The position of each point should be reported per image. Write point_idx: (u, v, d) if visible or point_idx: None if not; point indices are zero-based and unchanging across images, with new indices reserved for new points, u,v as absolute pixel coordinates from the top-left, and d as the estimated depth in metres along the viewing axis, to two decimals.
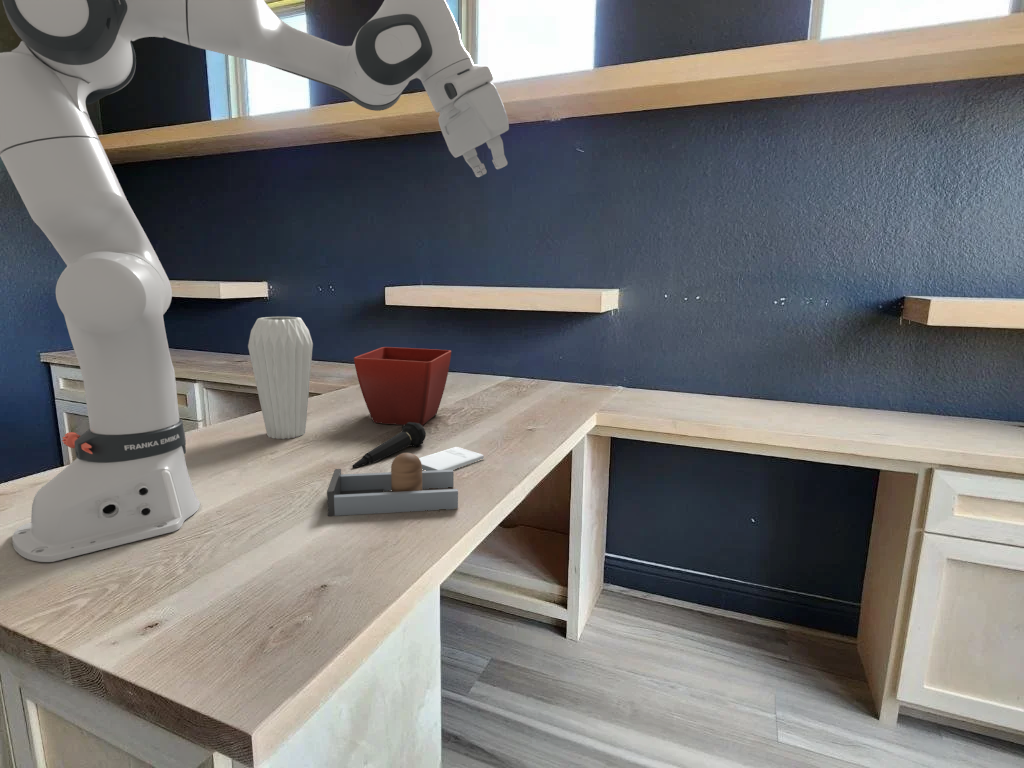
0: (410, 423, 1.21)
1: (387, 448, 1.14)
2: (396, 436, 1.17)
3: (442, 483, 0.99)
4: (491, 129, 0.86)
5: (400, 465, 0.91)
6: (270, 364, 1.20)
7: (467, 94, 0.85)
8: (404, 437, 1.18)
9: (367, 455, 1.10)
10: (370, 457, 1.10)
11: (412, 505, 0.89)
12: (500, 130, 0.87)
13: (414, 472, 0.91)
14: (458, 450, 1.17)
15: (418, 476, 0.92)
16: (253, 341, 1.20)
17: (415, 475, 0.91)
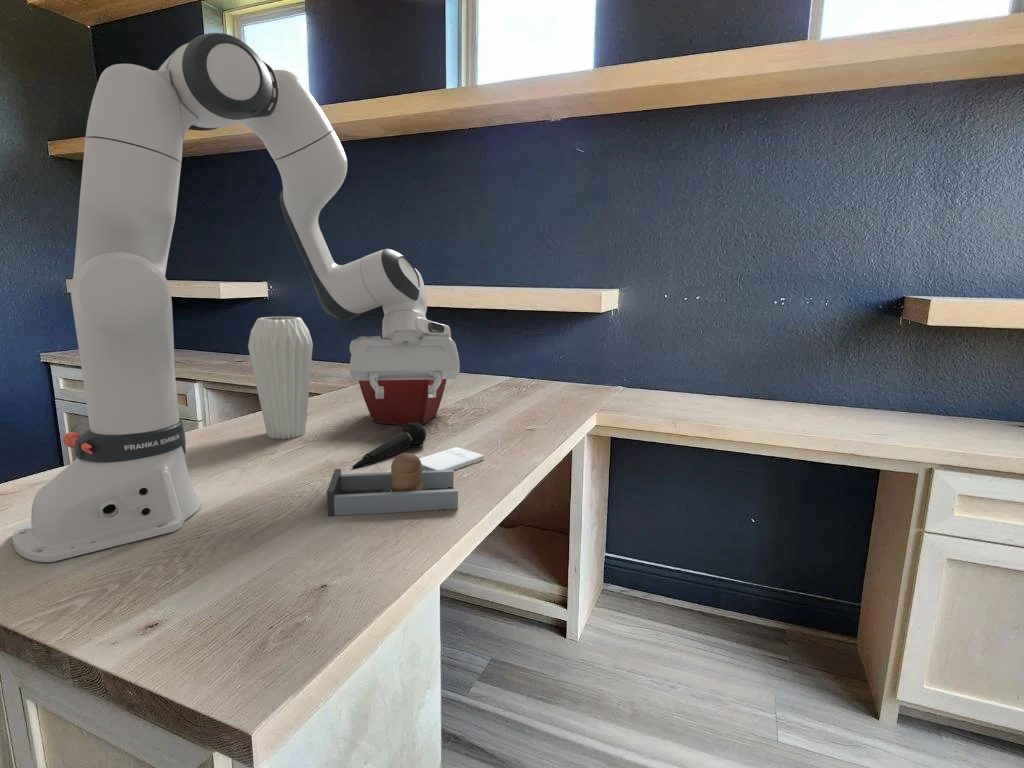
0: (410, 423, 1.21)
1: (388, 449, 1.14)
2: (396, 436, 1.17)
3: (442, 483, 0.99)
4: (459, 365, 1.07)
5: (400, 465, 0.91)
6: (270, 364, 1.20)
7: (449, 338, 1.09)
8: (404, 438, 1.17)
9: (367, 455, 1.10)
10: (370, 457, 1.10)
11: (412, 505, 0.89)
12: (458, 372, 1.07)
13: (414, 472, 0.91)
14: (459, 450, 1.16)
15: (418, 476, 0.92)
16: (253, 341, 1.20)
17: (415, 475, 0.91)
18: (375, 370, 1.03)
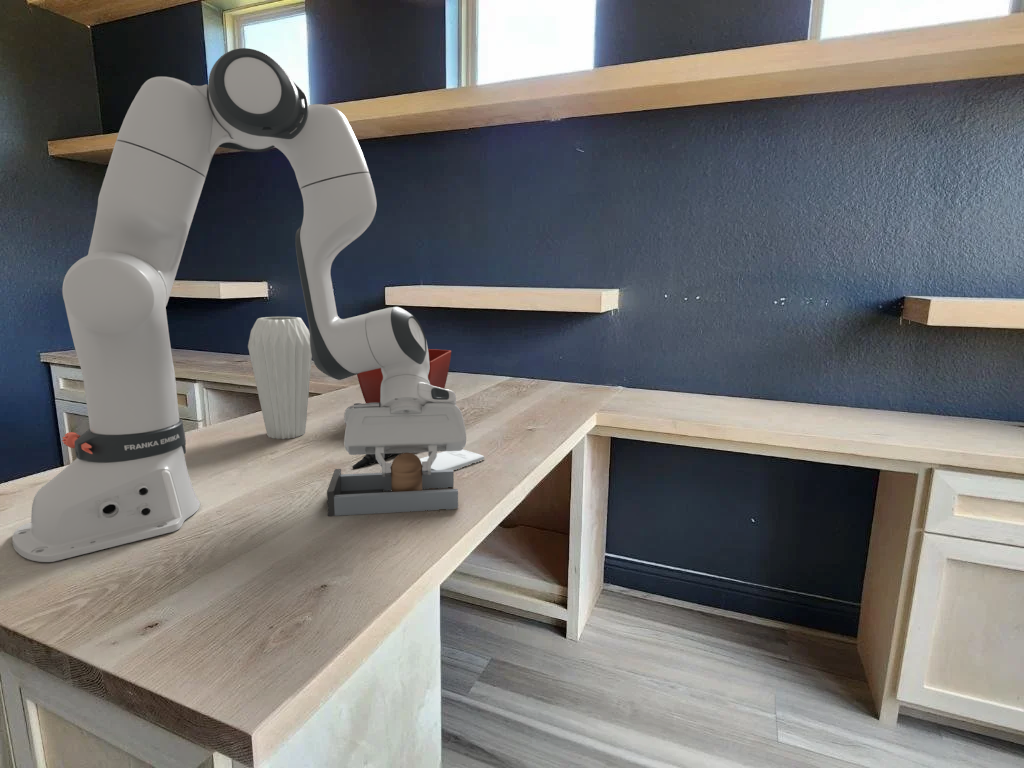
0: None
1: None
2: None
3: (442, 483, 0.99)
4: None
5: (400, 465, 0.91)
6: (270, 364, 1.20)
7: (455, 405, 0.99)
8: None
9: (368, 456, 1.10)
10: (371, 458, 1.10)
11: (412, 505, 0.89)
12: (464, 444, 0.97)
13: (414, 472, 0.91)
14: (459, 451, 1.16)
15: (418, 476, 0.92)
16: (253, 341, 1.20)
17: (415, 475, 0.91)
18: (372, 444, 0.93)
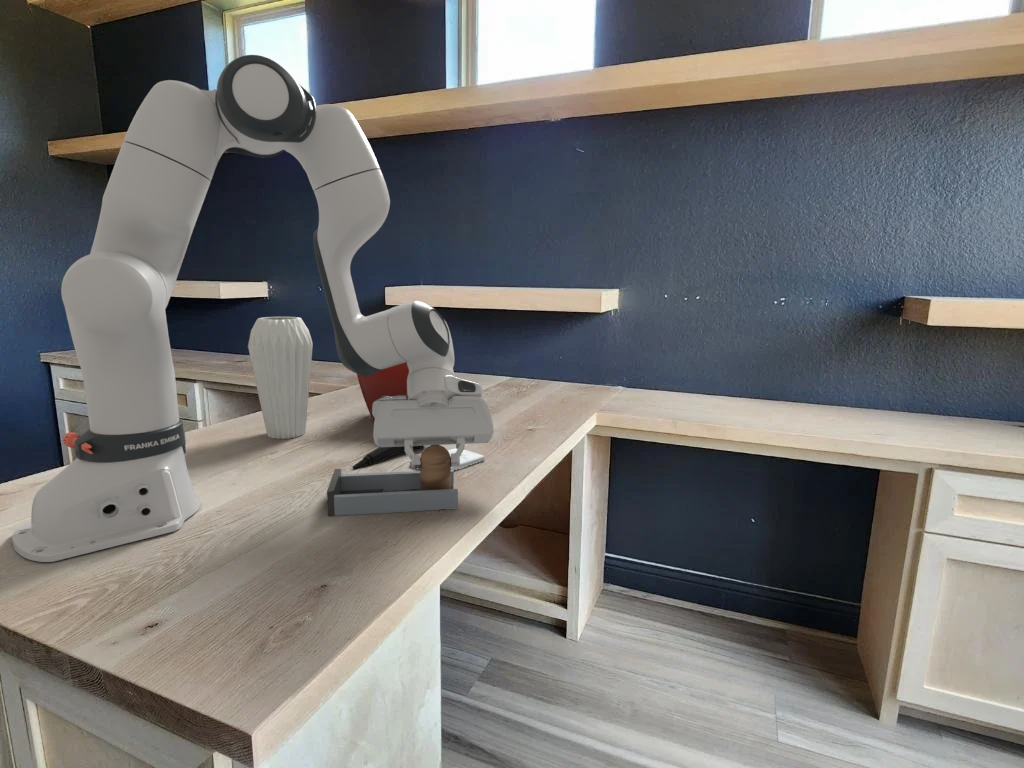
0: None
1: (389, 449, 1.13)
2: None
3: None
4: None
5: (429, 457, 0.91)
6: (270, 364, 1.20)
7: (481, 398, 0.99)
8: None
9: (368, 456, 1.10)
10: (371, 458, 1.10)
11: (412, 505, 0.89)
12: (491, 436, 0.98)
13: (443, 464, 0.92)
14: None
15: (447, 468, 0.93)
16: (253, 341, 1.20)
17: (445, 467, 0.92)
18: (401, 437, 0.93)
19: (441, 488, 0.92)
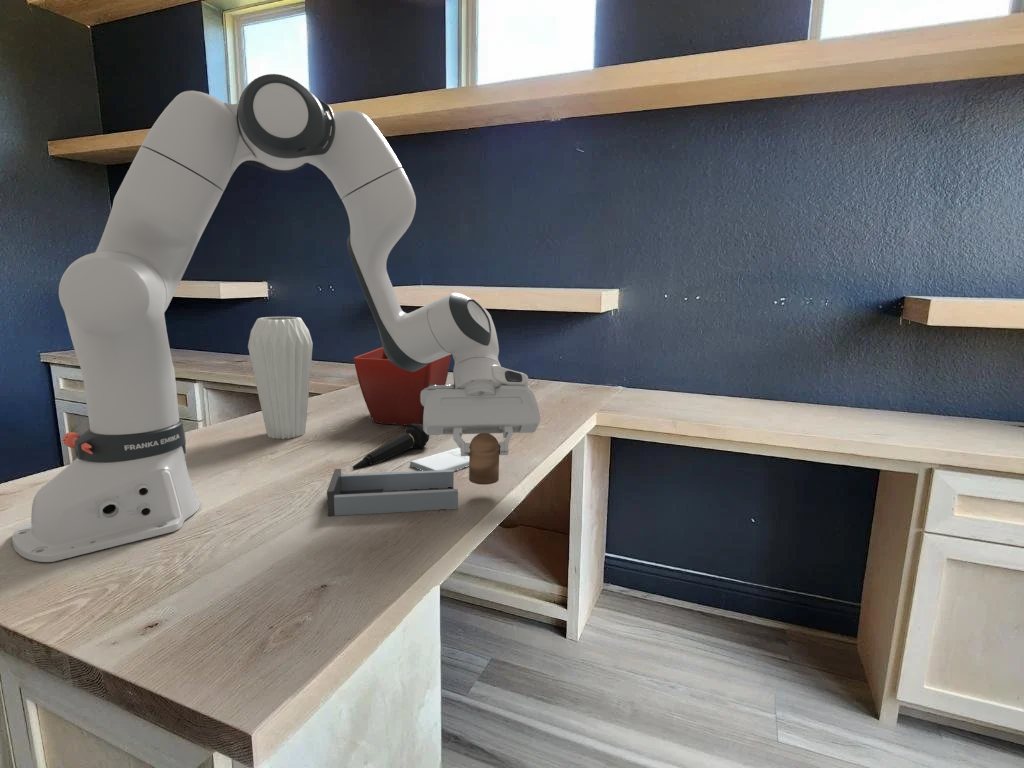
0: (413, 424, 1.20)
1: (389, 449, 1.13)
2: (399, 437, 1.16)
3: (442, 483, 0.99)
4: None
5: (479, 445, 0.92)
6: (270, 364, 1.20)
7: (527, 388, 1.00)
8: (406, 439, 1.17)
9: (368, 456, 1.10)
10: (371, 458, 1.10)
11: (412, 505, 0.89)
12: None
13: (493, 452, 0.93)
14: (460, 451, 1.16)
15: (496, 456, 0.94)
16: (253, 341, 1.20)
17: (494, 455, 0.93)
18: (451, 425, 0.94)
19: (490, 476, 0.93)
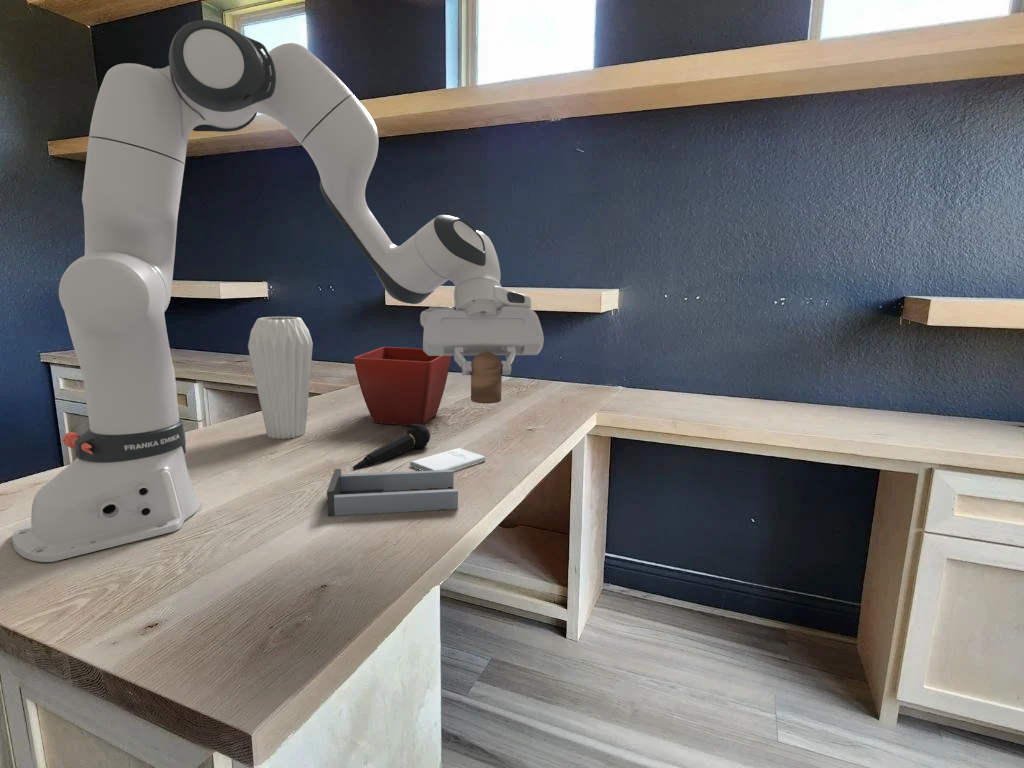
0: (414, 425, 1.20)
1: (389, 450, 1.13)
2: (399, 438, 1.16)
3: (442, 483, 0.99)
4: (543, 338, 0.95)
5: (481, 362, 0.90)
6: (270, 364, 1.20)
7: None
8: (407, 439, 1.17)
9: (368, 457, 1.10)
10: (371, 459, 1.10)
11: (412, 505, 0.89)
12: (541, 347, 0.96)
13: (495, 369, 0.90)
14: (460, 451, 1.16)
15: (499, 374, 0.91)
16: (253, 341, 1.20)
17: (497, 373, 0.90)
18: (452, 343, 0.92)
19: (493, 394, 0.91)
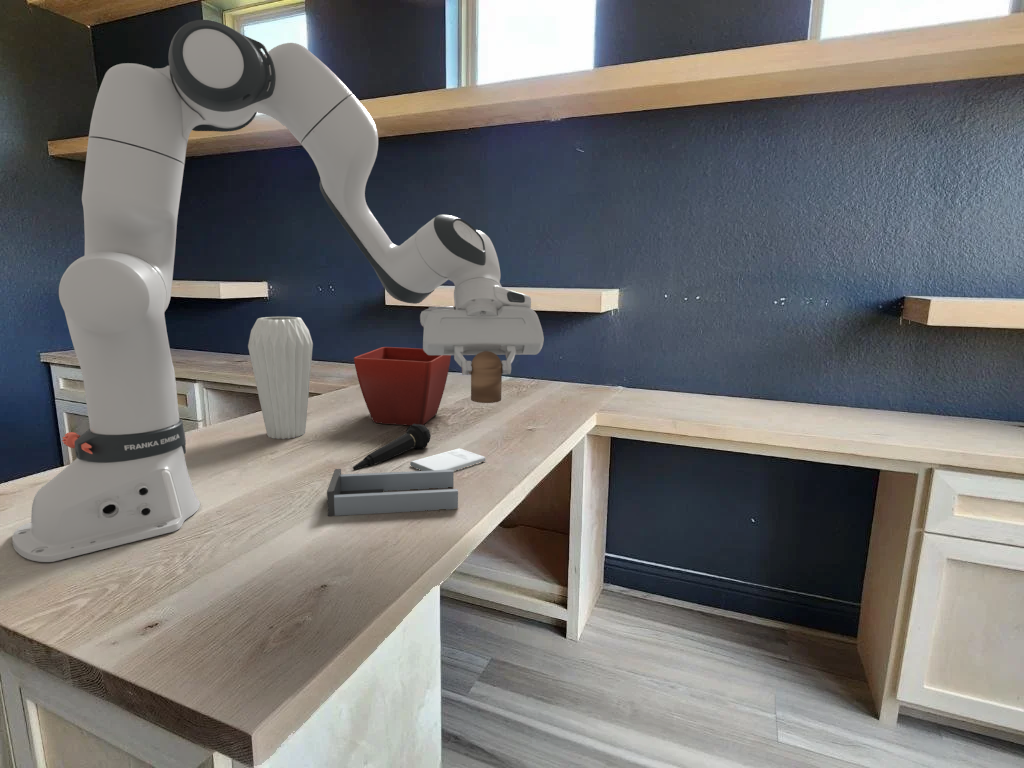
0: (415, 425, 1.19)
1: (390, 450, 1.13)
2: (400, 438, 1.16)
3: (442, 483, 0.99)
4: (543, 338, 0.95)
5: (481, 361, 0.90)
6: (270, 364, 1.20)
7: (530, 309, 0.98)
8: (407, 439, 1.16)
9: (368, 457, 1.10)
10: (371, 459, 1.09)
11: (412, 505, 0.89)
12: (541, 347, 0.96)
13: (495, 369, 0.90)
14: (461, 452, 1.16)
15: (499, 374, 0.91)
16: (253, 341, 1.20)
17: (497, 372, 0.90)
18: (452, 343, 0.92)
19: (493, 394, 0.91)
